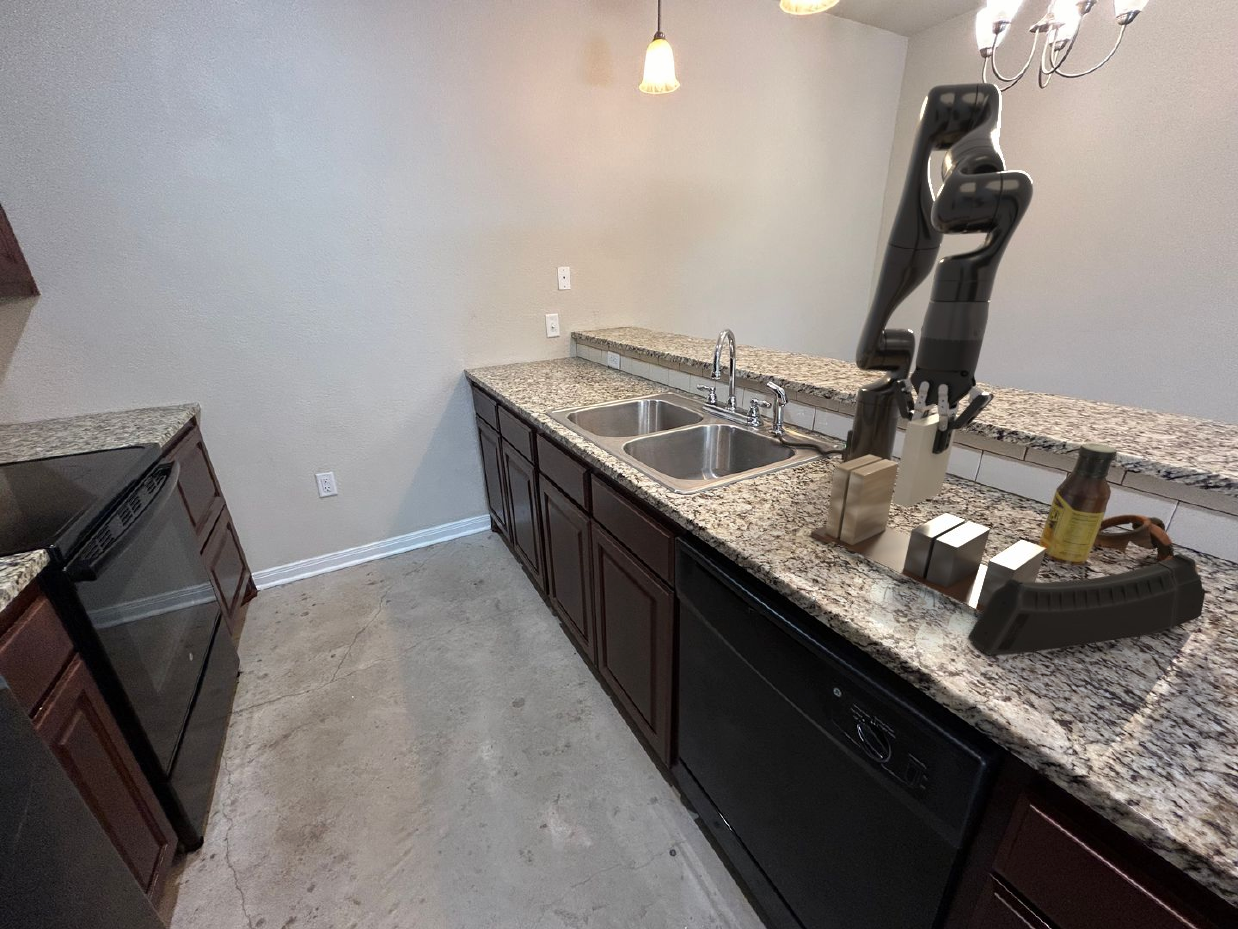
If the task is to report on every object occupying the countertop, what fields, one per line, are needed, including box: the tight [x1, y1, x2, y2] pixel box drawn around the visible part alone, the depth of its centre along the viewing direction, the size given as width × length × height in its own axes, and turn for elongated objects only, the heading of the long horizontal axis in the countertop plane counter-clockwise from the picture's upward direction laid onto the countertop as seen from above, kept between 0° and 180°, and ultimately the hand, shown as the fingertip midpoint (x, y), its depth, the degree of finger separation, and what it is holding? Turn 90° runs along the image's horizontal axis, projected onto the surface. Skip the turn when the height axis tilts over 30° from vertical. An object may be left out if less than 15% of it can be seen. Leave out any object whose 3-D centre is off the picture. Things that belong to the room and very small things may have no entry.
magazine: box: [967, 553, 1206, 656], centre depth 62 cm, size 17×3×30 cm
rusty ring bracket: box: [1092, 514, 1175, 561], centre depth 82 cm, size 12×10×8 cm
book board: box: [810, 455, 1046, 613], centre depth 79 cm, size 31×13×14 cm, turn 32°
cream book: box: [891, 413, 960, 509], centre depth 77 cm, size 2×10×13 cm, turn 123°
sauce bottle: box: [1038, 442, 1118, 566], centre depth 78 cm, size 6×6×20 cm
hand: (927, 449), depth 76 cm, fingers closed on cream book, 2 cm apart
